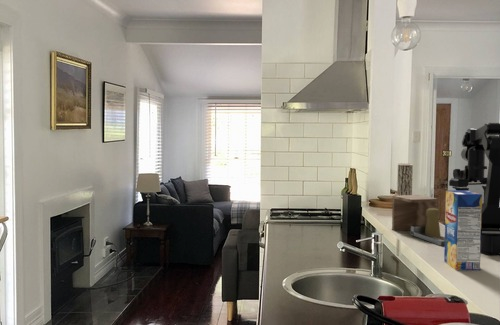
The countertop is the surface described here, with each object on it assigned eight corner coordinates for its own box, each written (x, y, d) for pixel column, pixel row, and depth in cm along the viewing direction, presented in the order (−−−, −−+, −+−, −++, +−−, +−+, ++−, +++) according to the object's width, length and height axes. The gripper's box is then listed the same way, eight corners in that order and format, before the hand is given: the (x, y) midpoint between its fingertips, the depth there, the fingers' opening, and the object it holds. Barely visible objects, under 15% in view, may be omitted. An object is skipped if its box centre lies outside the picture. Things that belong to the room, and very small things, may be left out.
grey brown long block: (471, 246, 188) (471, 224, 187) (447, 248, 185) (448, 225, 185) (431, 233, 210) (432, 213, 209) (410, 234, 207) (411, 214, 207)
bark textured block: (393, 215, 259) (394, 163, 258) (404, 214, 262) (405, 163, 261) (403, 217, 253) (404, 164, 252) (414, 216, 256) (415, 164, 255)
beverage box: (455, 270, 156) (457, 194, 155) (444, 261, 167) (445, 190, 166) (480, 270, 155) (482, 194, 154) (466, 261, 166) (468, 190, 165)
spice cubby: (437, 234, 211) (437, 198, 210) (410, 235, 208) (411, 199, 207) (417, 228, 224) (417, 194, 223) (392, 229, 221) (392, 195, 220)
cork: (441, 239, 202) (442, 209, 201) (425, 238, 203) (425, 209, 203) (439, 235, 208) (440, 207, 207) (423, 235, 209) (423, 207, 208)
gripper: (482, 161, 206) (481, 202, 207) (440, 162, 201) (439, 203, 202) (503, 163, 196) (502, 206, 197) (459, 164, 191) (458, 207, 191)
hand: (474, 205), depth 197 cm, fingers open, 9 cm apart
